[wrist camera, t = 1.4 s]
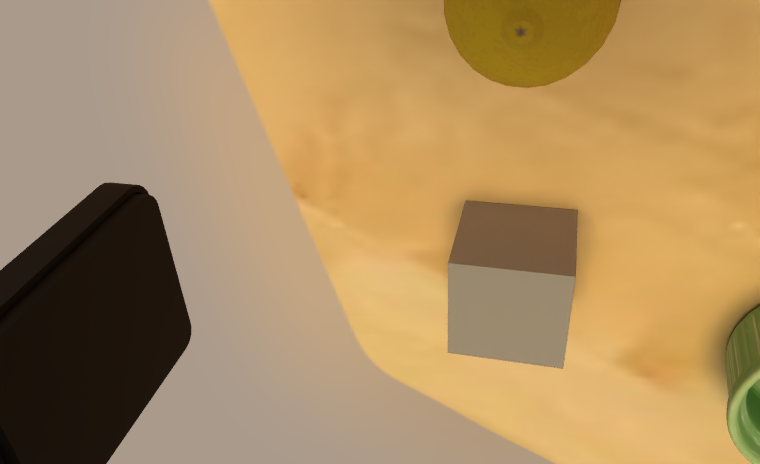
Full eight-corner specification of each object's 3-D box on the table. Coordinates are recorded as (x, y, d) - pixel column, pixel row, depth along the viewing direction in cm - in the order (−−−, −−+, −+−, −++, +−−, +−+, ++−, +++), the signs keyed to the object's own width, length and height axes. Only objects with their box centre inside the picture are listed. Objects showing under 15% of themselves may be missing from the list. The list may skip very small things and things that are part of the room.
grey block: (466, 199, 31) (448, 263, 27) (577, 209, 30) (575, 276, 26) (464, 283, 34) (447, 352, 30) (566, 295, 33) (563, 368, 29)
